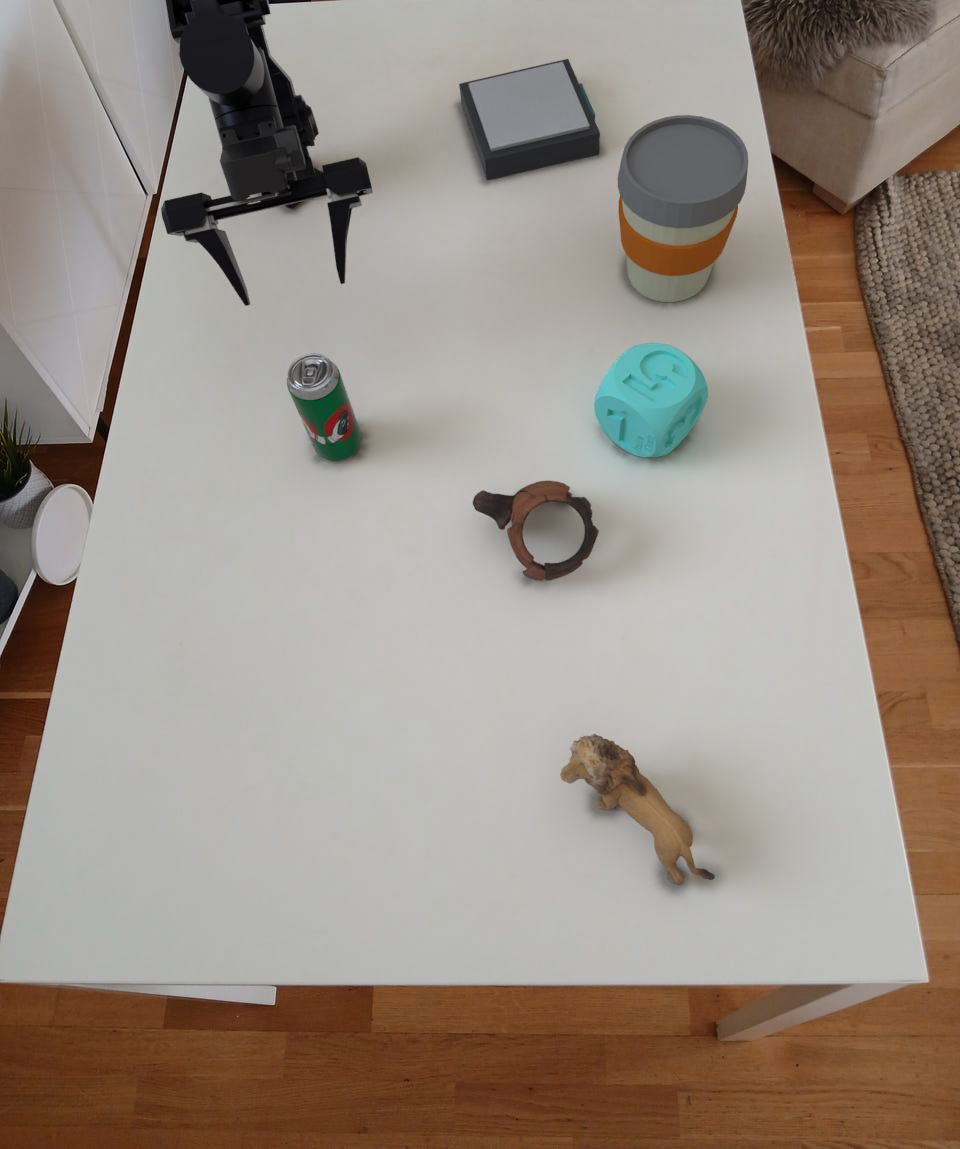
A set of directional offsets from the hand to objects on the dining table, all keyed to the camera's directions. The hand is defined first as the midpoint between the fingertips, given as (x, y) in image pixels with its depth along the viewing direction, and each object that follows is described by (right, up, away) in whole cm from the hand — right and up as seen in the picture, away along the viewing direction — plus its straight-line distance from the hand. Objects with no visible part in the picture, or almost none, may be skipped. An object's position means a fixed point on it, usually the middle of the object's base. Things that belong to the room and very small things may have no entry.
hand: (295, 294), depth 86 cm
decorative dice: (+34, -11, +7) cm, 37 cm away
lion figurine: (+30, -47, -9) cm, 57 cm away
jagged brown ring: (+23, -23, +3) cm, 32 cm away
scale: (+23, +29, +27) cm, 46 cm away
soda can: (+3, -13, +9) cm, 16 cm away
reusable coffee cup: (+38, +7, +15) cm, 42 cm away
